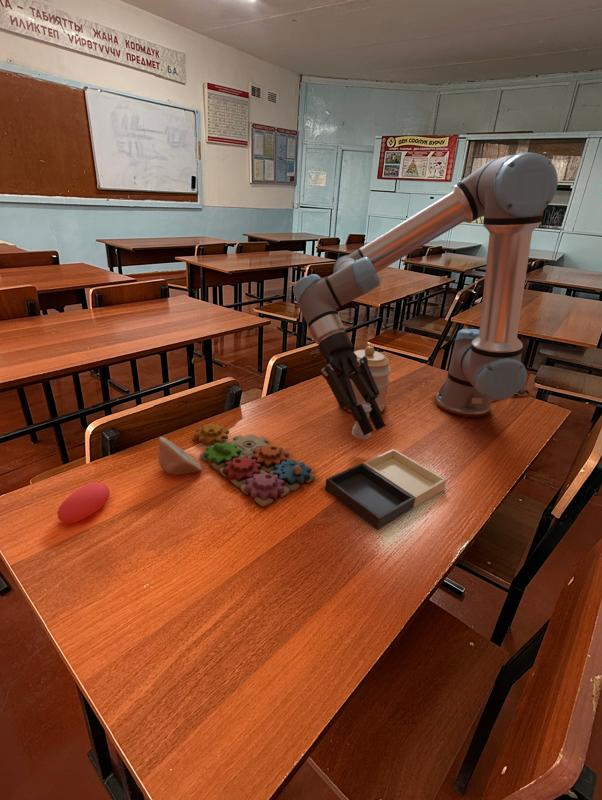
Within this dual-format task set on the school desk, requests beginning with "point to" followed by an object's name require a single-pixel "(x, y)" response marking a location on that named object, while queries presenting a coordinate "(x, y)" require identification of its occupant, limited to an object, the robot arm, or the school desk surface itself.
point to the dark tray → (369, 495)
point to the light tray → (407, 475)
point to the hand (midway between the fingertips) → (374, 430)
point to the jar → (375, 375)
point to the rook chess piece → (356, 428)
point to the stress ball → (83, 502)
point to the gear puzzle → (253, 464)
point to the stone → (175, 459)
